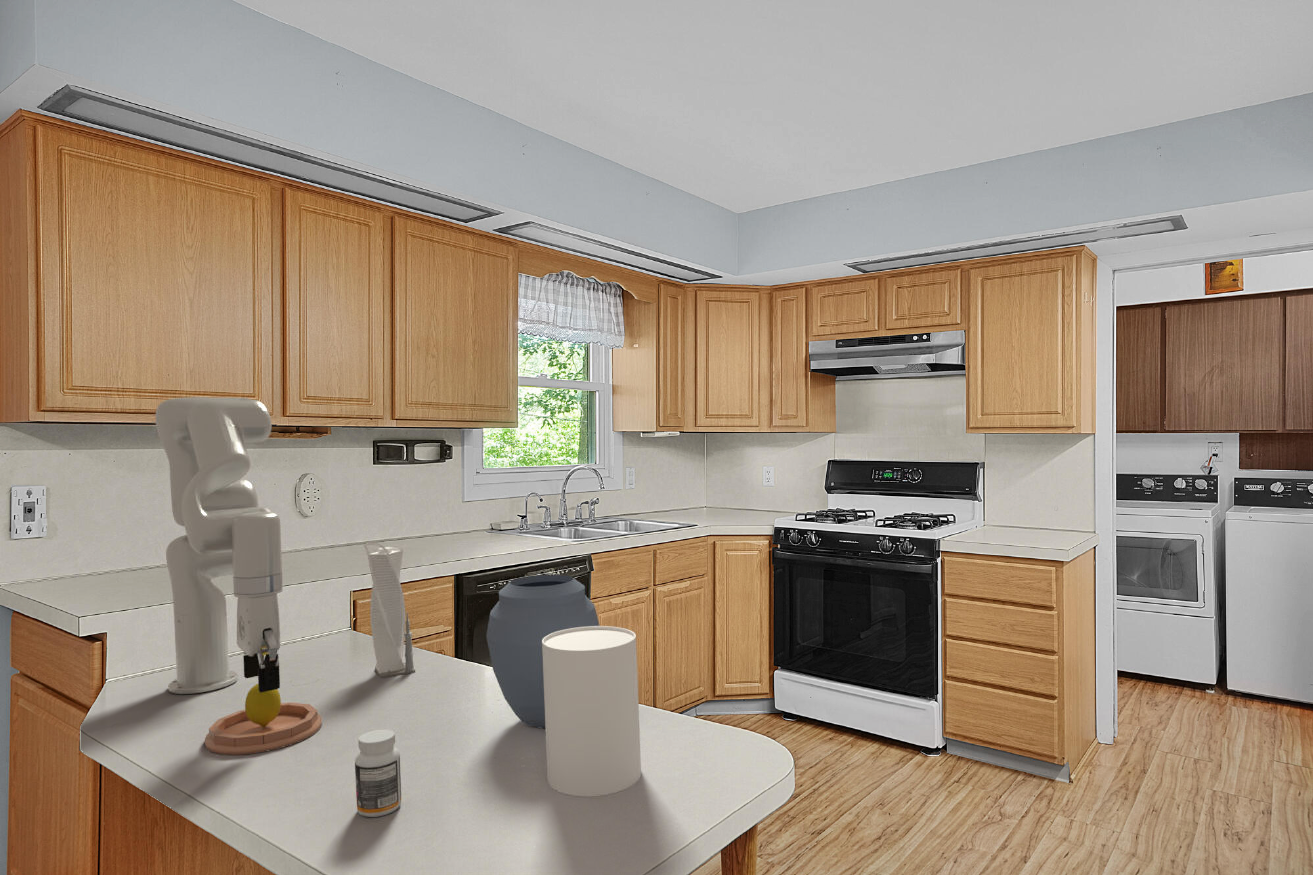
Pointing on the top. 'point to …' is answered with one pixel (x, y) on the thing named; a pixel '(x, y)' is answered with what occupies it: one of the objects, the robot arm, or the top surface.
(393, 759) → the pill bottle
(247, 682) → the top surface
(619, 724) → the canister
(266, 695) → the lemon
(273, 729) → the dish
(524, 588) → the vase
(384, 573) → the skyscraper
